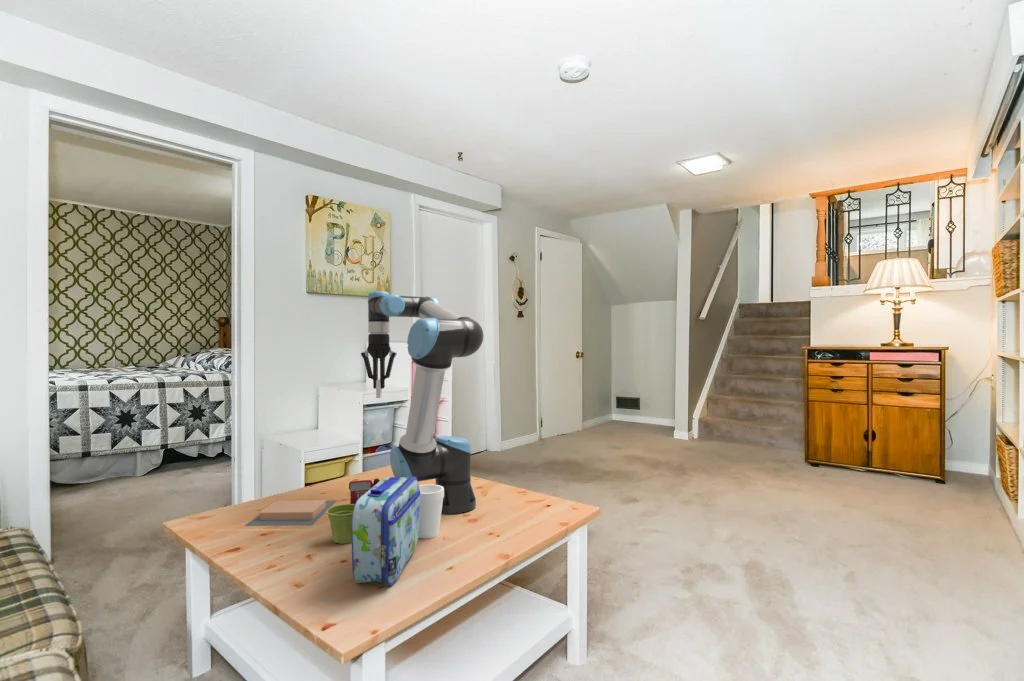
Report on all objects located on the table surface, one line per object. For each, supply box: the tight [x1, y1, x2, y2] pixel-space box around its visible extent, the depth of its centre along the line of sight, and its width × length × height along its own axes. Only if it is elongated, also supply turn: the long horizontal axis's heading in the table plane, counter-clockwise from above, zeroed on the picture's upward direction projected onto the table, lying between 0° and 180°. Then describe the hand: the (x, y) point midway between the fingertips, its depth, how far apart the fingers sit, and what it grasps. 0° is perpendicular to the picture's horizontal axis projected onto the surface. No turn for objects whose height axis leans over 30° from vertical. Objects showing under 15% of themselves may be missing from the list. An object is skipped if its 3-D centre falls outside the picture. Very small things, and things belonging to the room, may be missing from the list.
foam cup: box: [418, 483, 444, 539], centre depth 150 cm, size 10×9×13 cm
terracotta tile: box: [259, 499, 327, 521], centre depth 167 cm, size 2×16×12 cm
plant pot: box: [325, 503, 355, 545], centre depth 146 cm, size 9×9×9 cm
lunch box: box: [350, 476, 420, 586], centre depth 129 cm, size 26×11×21 cm, turn 174°
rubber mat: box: [244, 499, 338, 527], centre depth 168 cm, size 24×20×1 cm
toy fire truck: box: [348, 478, 381, 504], centre depth 171 cm, size 7×12×10 cm, turn 109°
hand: (379, 397), depth 194 cm, fingers closed
